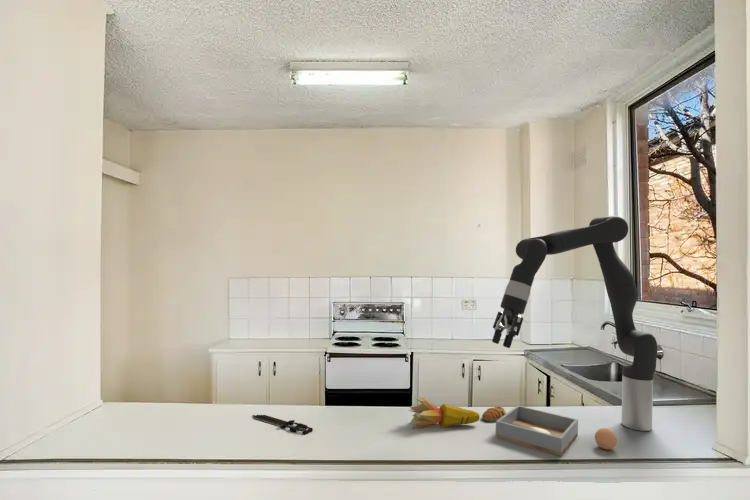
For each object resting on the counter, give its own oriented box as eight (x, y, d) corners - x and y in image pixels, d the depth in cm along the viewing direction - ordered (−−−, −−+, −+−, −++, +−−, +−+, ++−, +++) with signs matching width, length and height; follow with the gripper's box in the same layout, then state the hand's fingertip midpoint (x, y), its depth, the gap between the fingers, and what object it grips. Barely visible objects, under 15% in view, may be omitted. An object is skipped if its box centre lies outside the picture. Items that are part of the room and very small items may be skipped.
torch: (477, 437, 147) (406, 430, 144) (471, 418, 154) (403, 411, 151) (485, 420, 144) (412, 412, 140) (478, 402, 151) (409, 394, 147)
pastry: (492, 425, 150) (493, 414, 150) (477, 419, 155) (477, 408, 155) (508, 419, 156) (508, 408, 156) (492, 413, 161) (492, 403, 161)
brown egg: (596, 442, 137) (597, 423, 137) (618, 448, 133) (618, 428, 133) (592, 449, 132) (593, 429, 132) (614, 455, 129) (615, 434, 129)
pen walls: (517, 416, 154) (517, 405, 155) (577, 431, 142) (578, 419, 142) (495, 433, 139) (495, 421, 139) (561, 452, 126) (561, 438, 126)
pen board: (517, 419, 154) (517, 416, 154) (577, 435, 142) (577, 431, 142) (495, 437, 139) (495, 433, 139) (561, 456, 126) (561, 451, 126)
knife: (248, 418, 150) (249, 414, 150) (263, 413, 155) (263, 409, 155) (300, 438, 135) (300, 433, 135) (315, 431, 140) (315, 427, 140)
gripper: (537, 302, 133) (521, 352, 132) (516, 299, 148) (501, 345, 146) (515, 294, 133) (498, 344, 131) (496, 292, 147) (481, 338, 145)
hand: (500, 345), depth 139 cm, fingers open, 8 cm apart
